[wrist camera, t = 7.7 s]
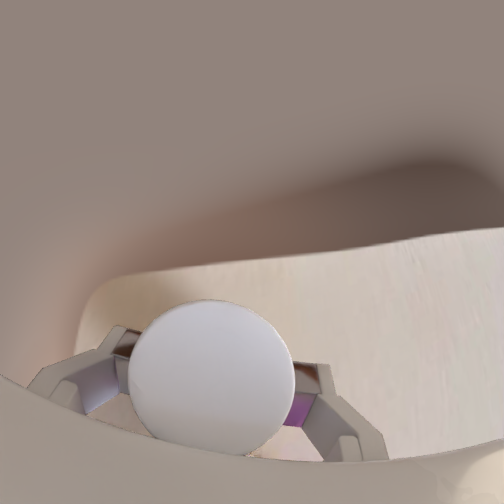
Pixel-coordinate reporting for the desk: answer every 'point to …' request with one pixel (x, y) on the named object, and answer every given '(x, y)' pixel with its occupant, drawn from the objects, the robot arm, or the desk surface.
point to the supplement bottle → (211, 377)
